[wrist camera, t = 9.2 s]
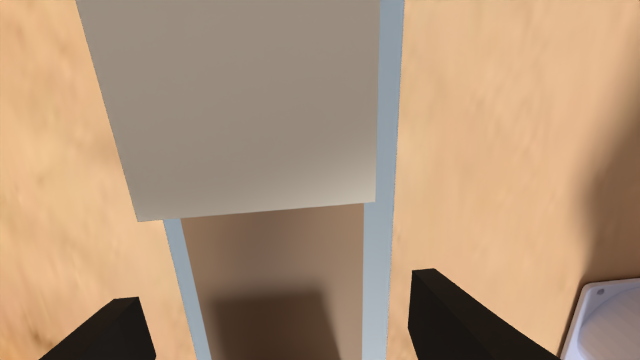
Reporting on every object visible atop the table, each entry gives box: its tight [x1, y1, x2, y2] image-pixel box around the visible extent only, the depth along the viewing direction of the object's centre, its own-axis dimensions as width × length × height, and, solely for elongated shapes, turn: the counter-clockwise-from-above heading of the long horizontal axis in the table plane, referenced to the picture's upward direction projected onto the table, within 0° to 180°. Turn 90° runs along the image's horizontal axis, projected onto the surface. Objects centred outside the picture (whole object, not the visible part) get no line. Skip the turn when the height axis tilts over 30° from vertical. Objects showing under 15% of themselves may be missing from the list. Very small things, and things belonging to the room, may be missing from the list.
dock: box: [163, 0, 404, 360], centre depth 16 cm, size 10×22×3 cm, turn 2°
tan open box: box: [180, 203, 364, 360], centre depth 12 cm, size 5×19×6 cm, turn 2°
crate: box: [75, 0, 380, 222], centre depth 6 cm, size 4×4×4 cm
